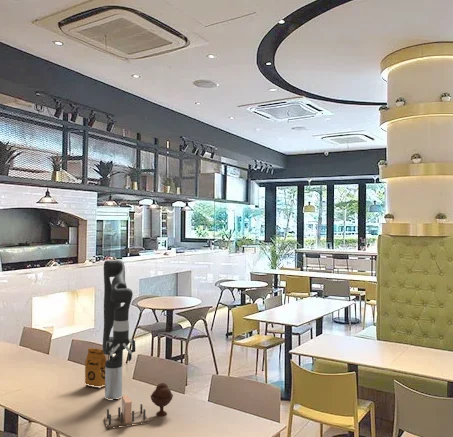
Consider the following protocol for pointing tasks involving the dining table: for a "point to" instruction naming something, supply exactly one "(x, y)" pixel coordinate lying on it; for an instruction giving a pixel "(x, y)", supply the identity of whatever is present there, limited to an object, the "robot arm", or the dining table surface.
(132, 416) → the dish rack
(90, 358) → the coffee package
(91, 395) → the dining table surface
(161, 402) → the ice cream bowl
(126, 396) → the peach chamfered block
